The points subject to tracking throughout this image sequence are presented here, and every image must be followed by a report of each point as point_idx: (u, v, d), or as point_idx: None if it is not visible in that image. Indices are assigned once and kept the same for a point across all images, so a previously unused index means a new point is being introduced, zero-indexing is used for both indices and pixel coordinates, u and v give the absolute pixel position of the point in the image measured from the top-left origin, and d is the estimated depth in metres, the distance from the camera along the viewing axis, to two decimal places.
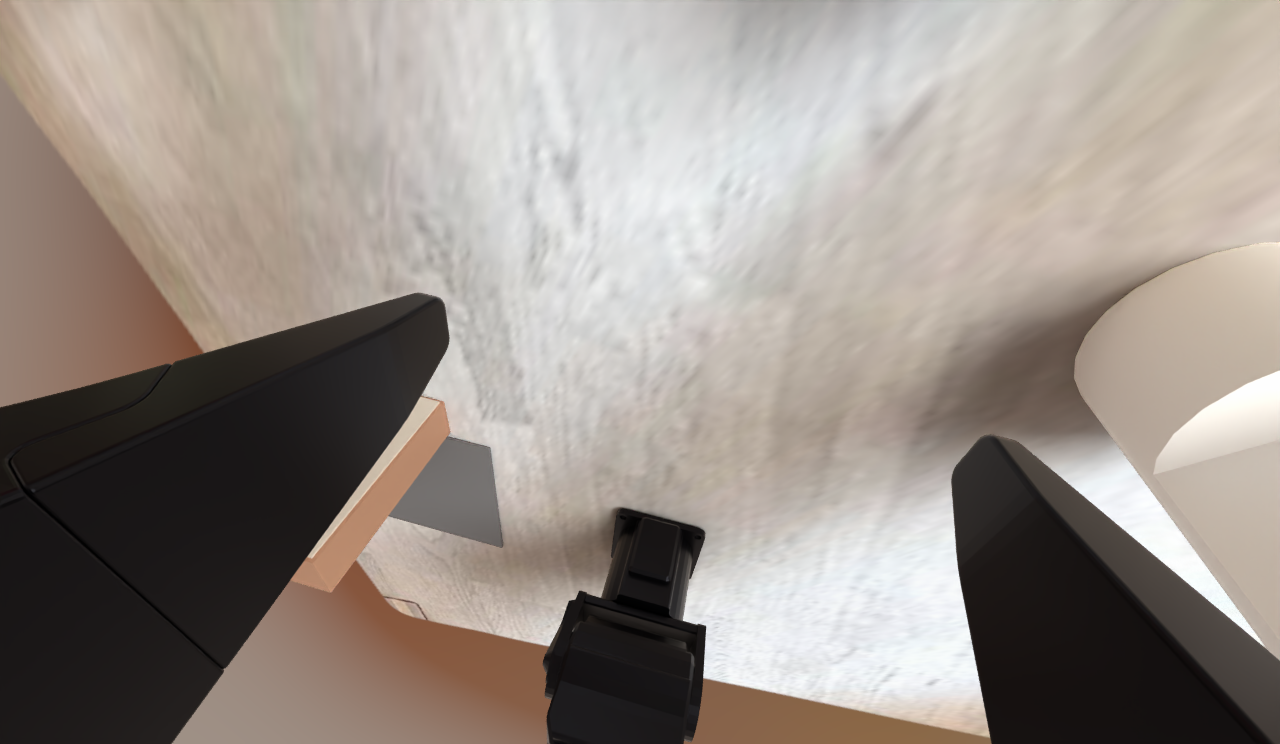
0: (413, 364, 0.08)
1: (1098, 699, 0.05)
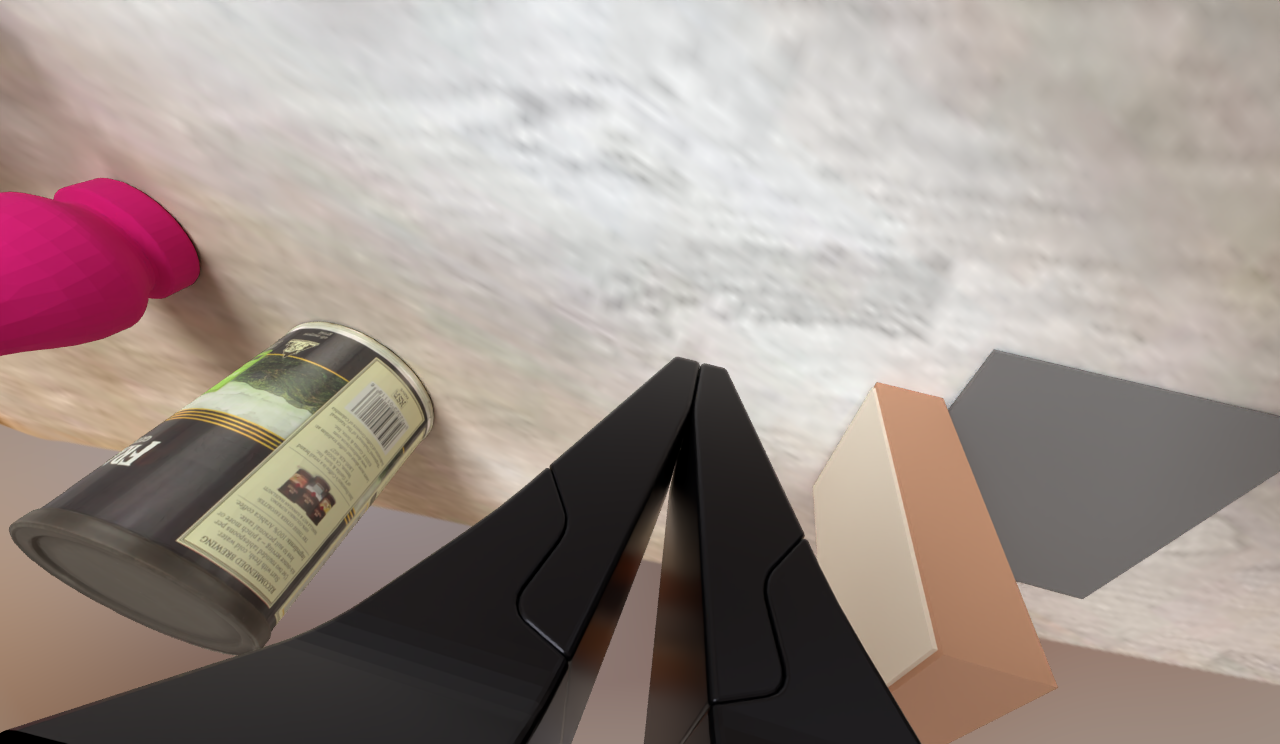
0: (683, 435, 0.07)
1: (678, 578, 0.05)
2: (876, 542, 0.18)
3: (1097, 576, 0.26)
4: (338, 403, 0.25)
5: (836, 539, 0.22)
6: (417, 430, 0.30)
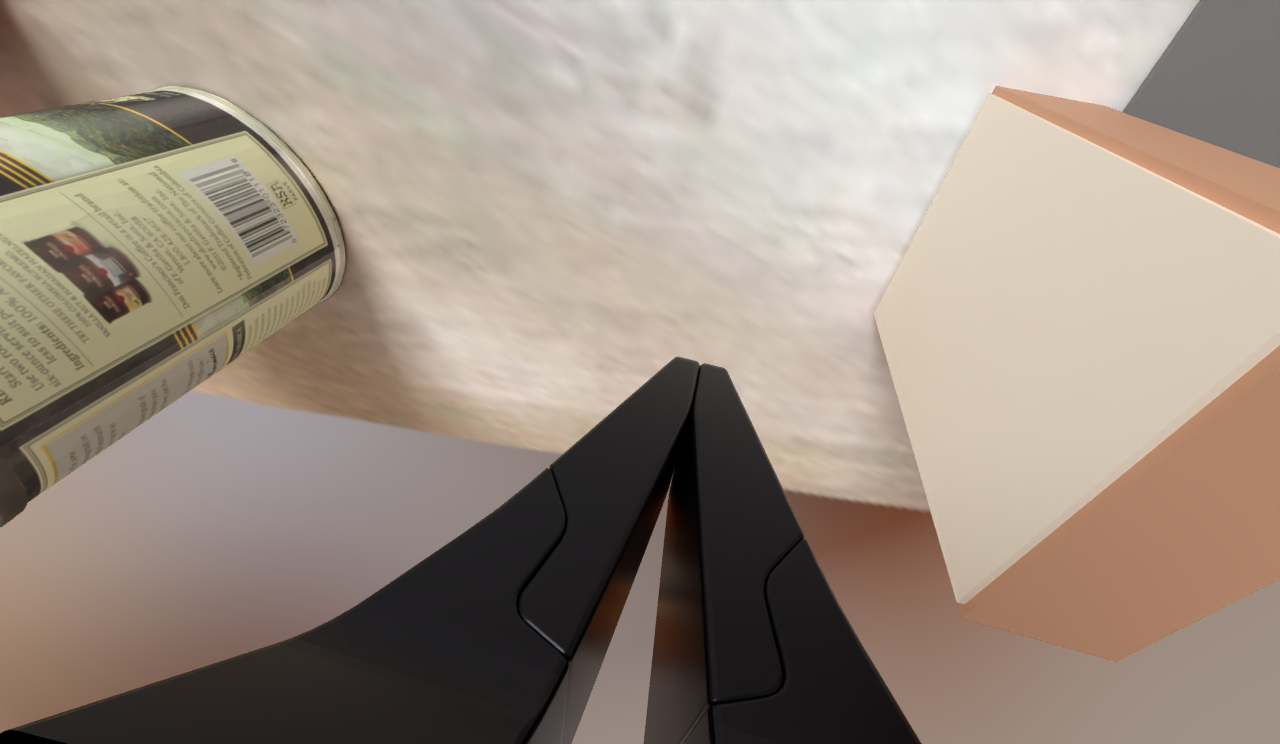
0: None
1: (679, 579, 0.05)
2: (1045, 257, 0.10)
3: None
4: (168, 164, 0.17)
5: (934, 332, 0.14)
6: (315, 255, 0.21)
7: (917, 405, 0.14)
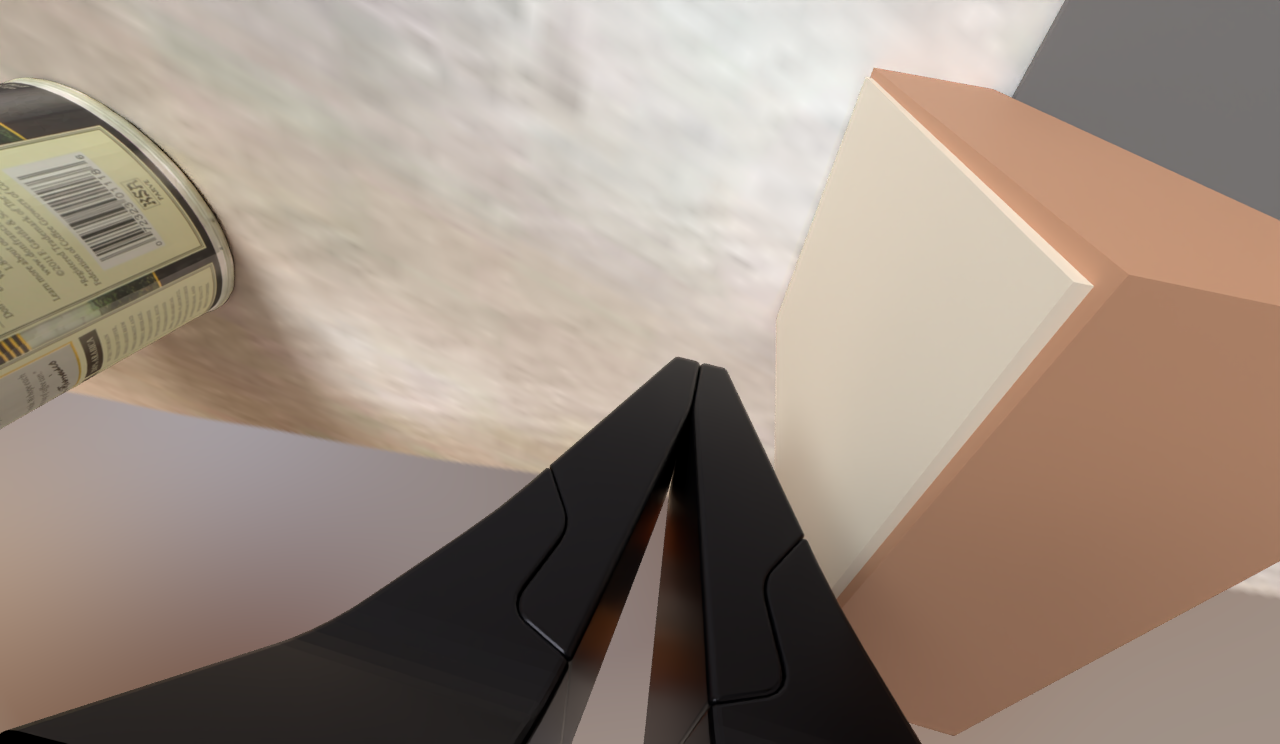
0: (683, 435, 0.07)
1: (678, 579, 0.05)
2: (873, 259, 0.08)
3: None
4: None
5: (803, 342, 0.12)
6: (189, 258, 0.20)
7: (783, 424, 0.12)
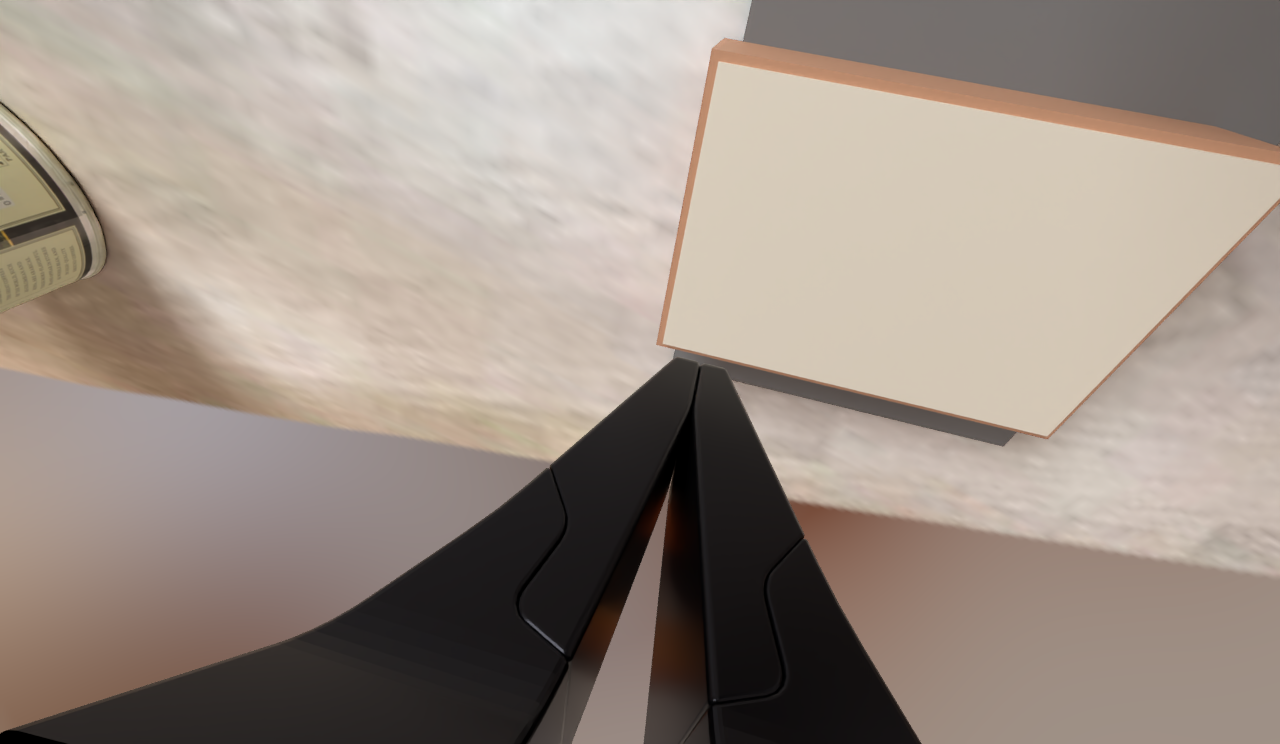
0: (682, 435, 0.07)
1: (678, 579, 0.05)
2: (1001, 217, 0.11)
3: None
4: None
5: (845, 317, 0.13)
6: (45, 220, 0.21)
7: (871, 373, 0.14)
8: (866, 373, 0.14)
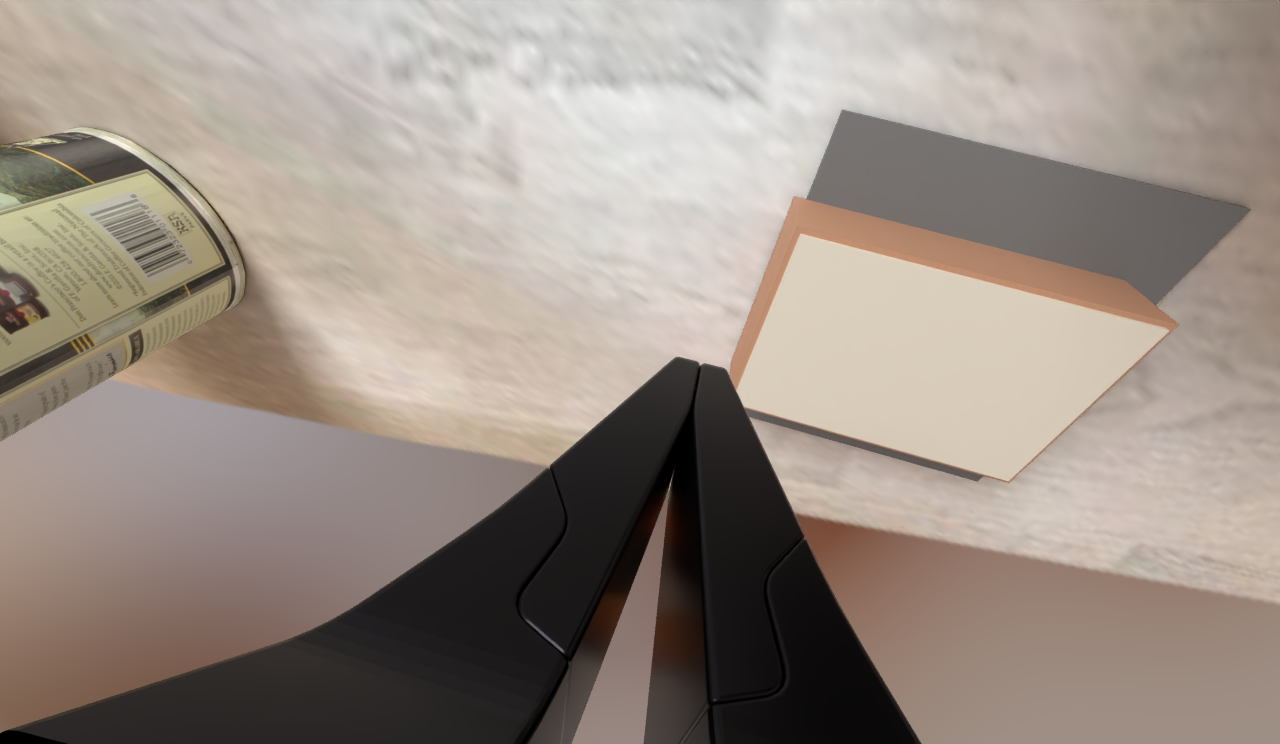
0: (683, 435, 0.07)
1: (678, 579, 0.05)
2: (981, 341, 0.17)
3: None
4: (70, 202, 0.20)
5: (870, 394, 0.19)
6: (212, 273, 0.25)
7: (886, 432, 0.20)
8: (882, 432, 0.20)
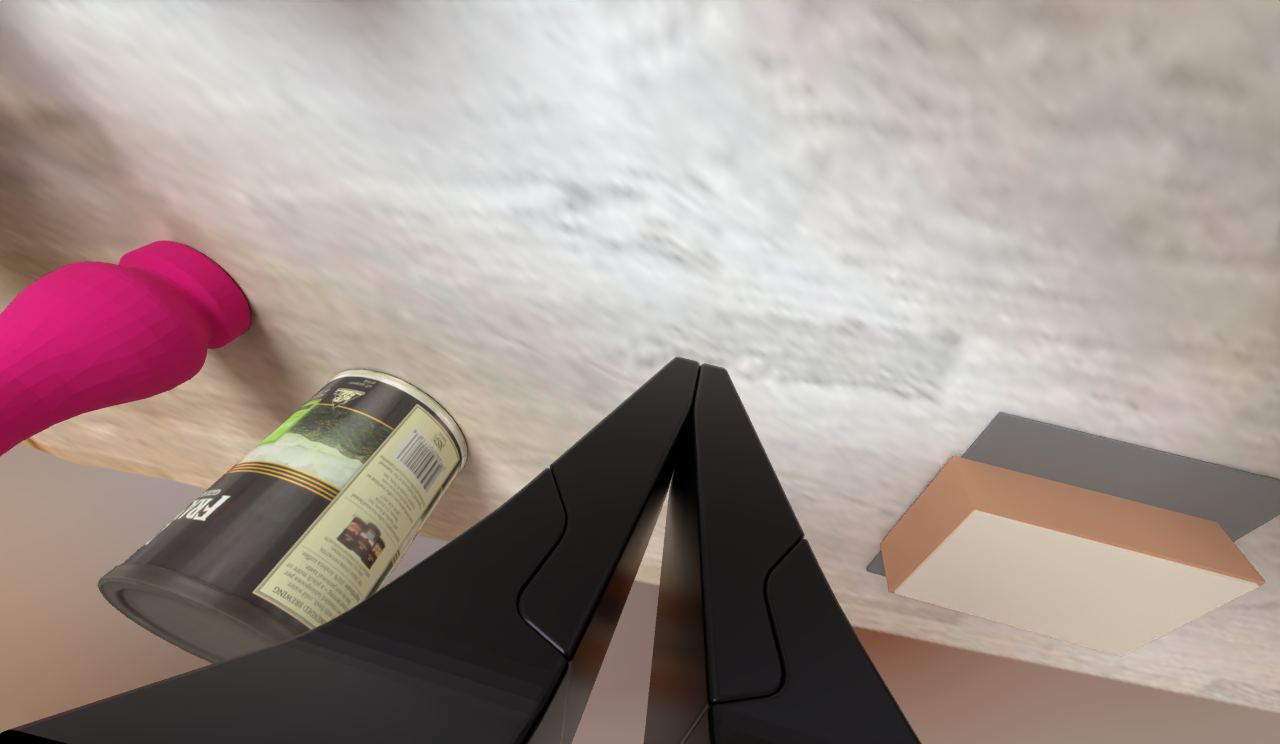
0: (683, 435, 0.07)
1: (678, 579, 0.05)
2: (1109, 578, 0.22)
3: None
4: (386, 451, 0.27)
5: (1013, 598, 0.24)
6: (453, 470, 0.31)
7: (1022, 620, 0.25)
8: (1019, 620, 0.25)
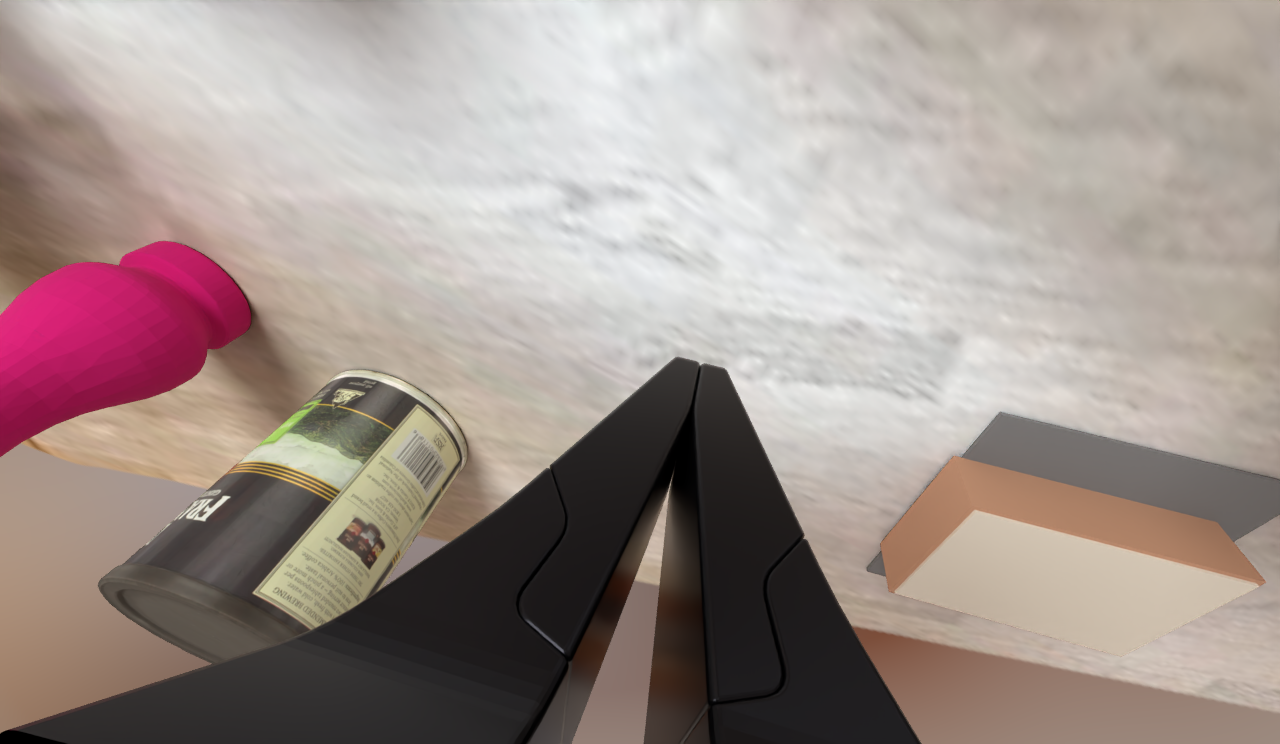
0: (683, 435, 0.07)
1: (678, 579, 0.05)
2: (1109, 578, 0.22)
3: None
4: (386, 452, 0.27)
5: (1013, 599, 0.24)
6: (453, 470, 0.31)
7: (1022, 620, 0.25)
8: (1019, 620, 0.25)
